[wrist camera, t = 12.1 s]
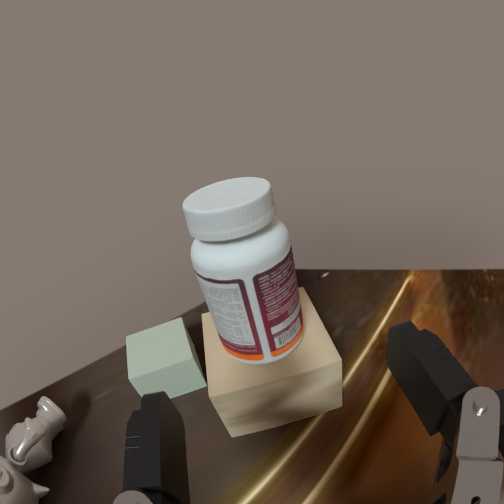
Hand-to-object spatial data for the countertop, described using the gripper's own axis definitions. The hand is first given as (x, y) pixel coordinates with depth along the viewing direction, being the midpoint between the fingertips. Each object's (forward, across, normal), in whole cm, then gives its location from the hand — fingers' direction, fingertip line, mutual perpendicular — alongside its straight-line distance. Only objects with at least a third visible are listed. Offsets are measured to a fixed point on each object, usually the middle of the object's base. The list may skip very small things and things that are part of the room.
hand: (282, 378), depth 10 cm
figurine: (+3, +24, +14) cm, 28 cm away
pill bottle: (+11, 0, +8) cm, 13 cm away
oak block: (+11, 0, +14) cm, 18 cm away
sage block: (+15, +10, +14) cm, 23 cm away
